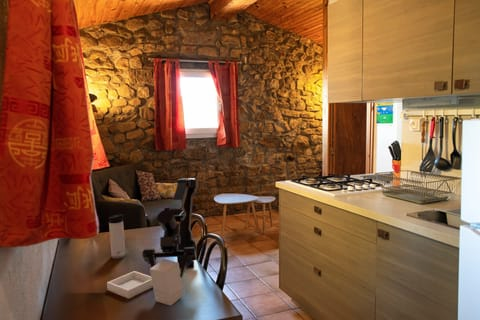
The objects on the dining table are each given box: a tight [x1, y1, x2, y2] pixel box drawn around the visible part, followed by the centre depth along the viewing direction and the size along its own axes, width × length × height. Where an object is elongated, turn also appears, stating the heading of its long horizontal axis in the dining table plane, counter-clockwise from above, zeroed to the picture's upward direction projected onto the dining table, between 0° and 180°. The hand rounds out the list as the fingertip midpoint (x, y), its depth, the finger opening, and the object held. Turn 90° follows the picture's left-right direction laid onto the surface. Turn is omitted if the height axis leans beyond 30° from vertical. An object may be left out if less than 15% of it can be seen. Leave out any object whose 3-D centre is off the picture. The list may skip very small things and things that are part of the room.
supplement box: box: [149, 258, 185, 306], centre depth 131 cm, size 7×7×13 cm
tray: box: [106, 270, 153, 299], centre depth 143 cm, size 13×13×3 cm
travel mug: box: [108, 213, 126, 260], centre depth 176 cm, size 6×7×20 cm
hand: (167, 277), depth 131 cm, fingers closed on supplement box, 9 cm apart
